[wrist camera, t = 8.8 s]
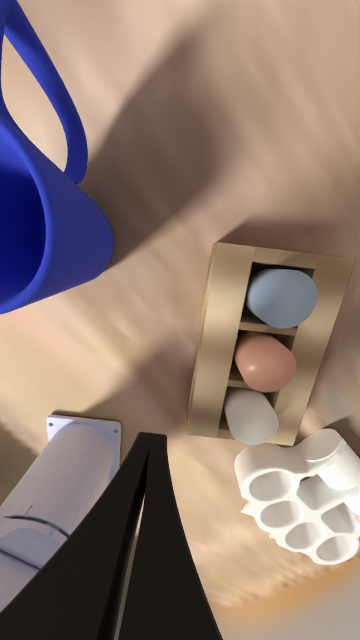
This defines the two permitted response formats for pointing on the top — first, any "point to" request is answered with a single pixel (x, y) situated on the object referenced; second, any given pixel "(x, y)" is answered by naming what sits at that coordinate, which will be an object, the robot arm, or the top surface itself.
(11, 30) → the mug
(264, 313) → the pale blue rounded lump
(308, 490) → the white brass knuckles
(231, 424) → the pale grey rounded piece
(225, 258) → the wooden compartment tray
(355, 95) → the top surface
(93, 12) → the top surface
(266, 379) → the pink egg
